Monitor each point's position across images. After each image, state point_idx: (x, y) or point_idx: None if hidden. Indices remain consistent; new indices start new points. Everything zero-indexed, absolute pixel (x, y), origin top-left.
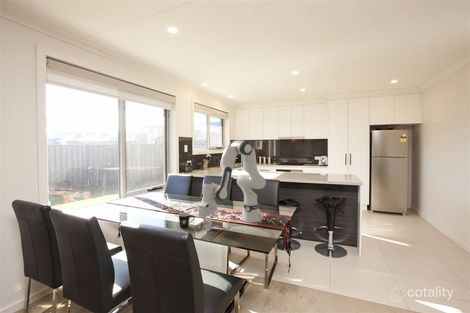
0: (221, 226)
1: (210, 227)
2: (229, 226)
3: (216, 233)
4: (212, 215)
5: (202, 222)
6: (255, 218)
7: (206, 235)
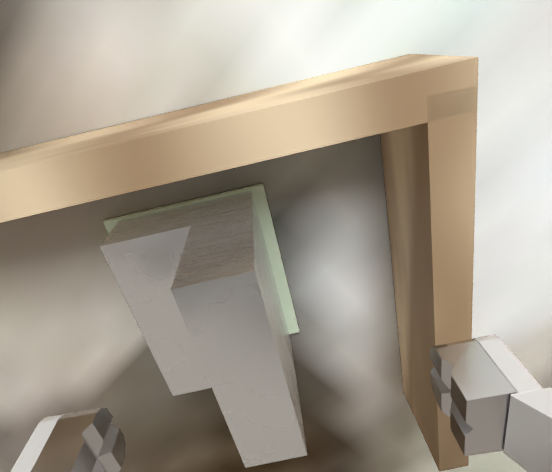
0: (411, 401)
1: (209, 387)
2: None
3: (199, 459)
4: (524, 445)
5: (177, 180)
6: None
7: None
